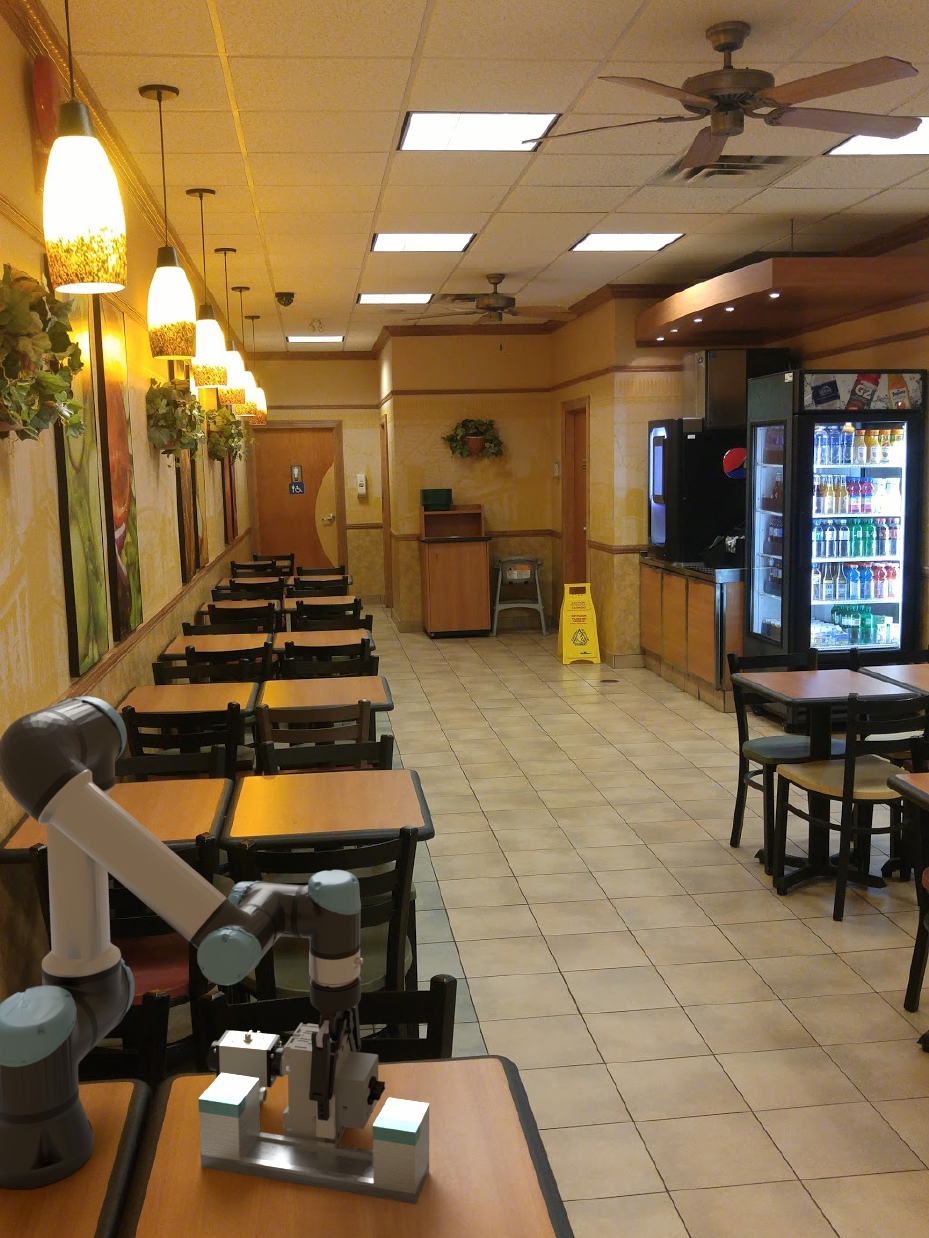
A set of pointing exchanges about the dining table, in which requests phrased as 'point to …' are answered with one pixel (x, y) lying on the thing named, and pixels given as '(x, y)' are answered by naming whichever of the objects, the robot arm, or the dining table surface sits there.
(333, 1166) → the rail with modules
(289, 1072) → the circuit breaker
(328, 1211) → the dining table surface
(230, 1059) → the pneumatic valve
